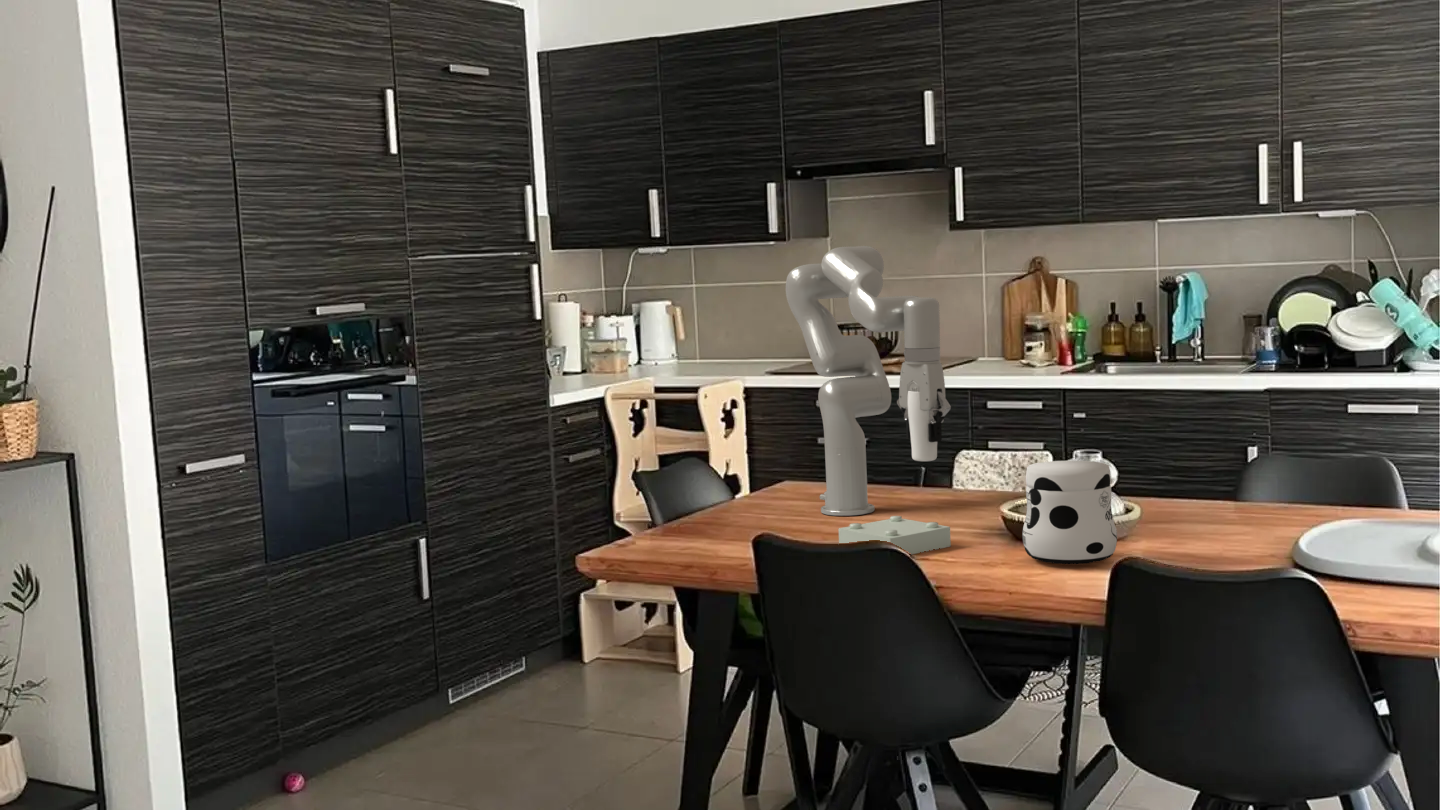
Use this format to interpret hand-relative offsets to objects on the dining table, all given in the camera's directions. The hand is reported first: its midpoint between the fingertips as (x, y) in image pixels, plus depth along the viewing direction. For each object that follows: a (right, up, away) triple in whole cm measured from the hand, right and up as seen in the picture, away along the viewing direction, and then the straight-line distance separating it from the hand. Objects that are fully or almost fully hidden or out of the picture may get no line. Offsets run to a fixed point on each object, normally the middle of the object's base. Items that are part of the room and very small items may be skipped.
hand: (923, 439), depth 296 cm
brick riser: (-8, -22, -13) cm, 27 cm away
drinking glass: (0, -5, +1) cm, 5 cm away
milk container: (+23, -22, -33) cm, 46 cm away
